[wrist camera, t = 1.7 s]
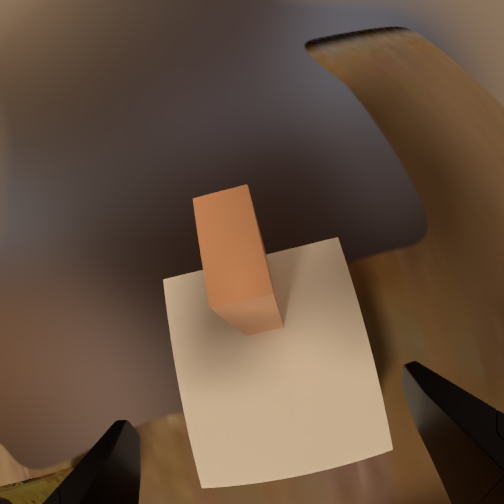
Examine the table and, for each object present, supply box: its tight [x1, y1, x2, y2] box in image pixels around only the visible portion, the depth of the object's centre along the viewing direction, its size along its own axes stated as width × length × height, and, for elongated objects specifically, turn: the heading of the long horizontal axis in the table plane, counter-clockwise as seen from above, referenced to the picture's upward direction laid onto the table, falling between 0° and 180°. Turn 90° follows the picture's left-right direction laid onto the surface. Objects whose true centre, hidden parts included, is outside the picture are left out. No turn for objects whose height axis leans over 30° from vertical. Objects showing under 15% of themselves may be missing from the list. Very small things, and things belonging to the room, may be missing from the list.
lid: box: [163, 185, 393, 488], centre depth 13 cm, size 12×10×8 cm
